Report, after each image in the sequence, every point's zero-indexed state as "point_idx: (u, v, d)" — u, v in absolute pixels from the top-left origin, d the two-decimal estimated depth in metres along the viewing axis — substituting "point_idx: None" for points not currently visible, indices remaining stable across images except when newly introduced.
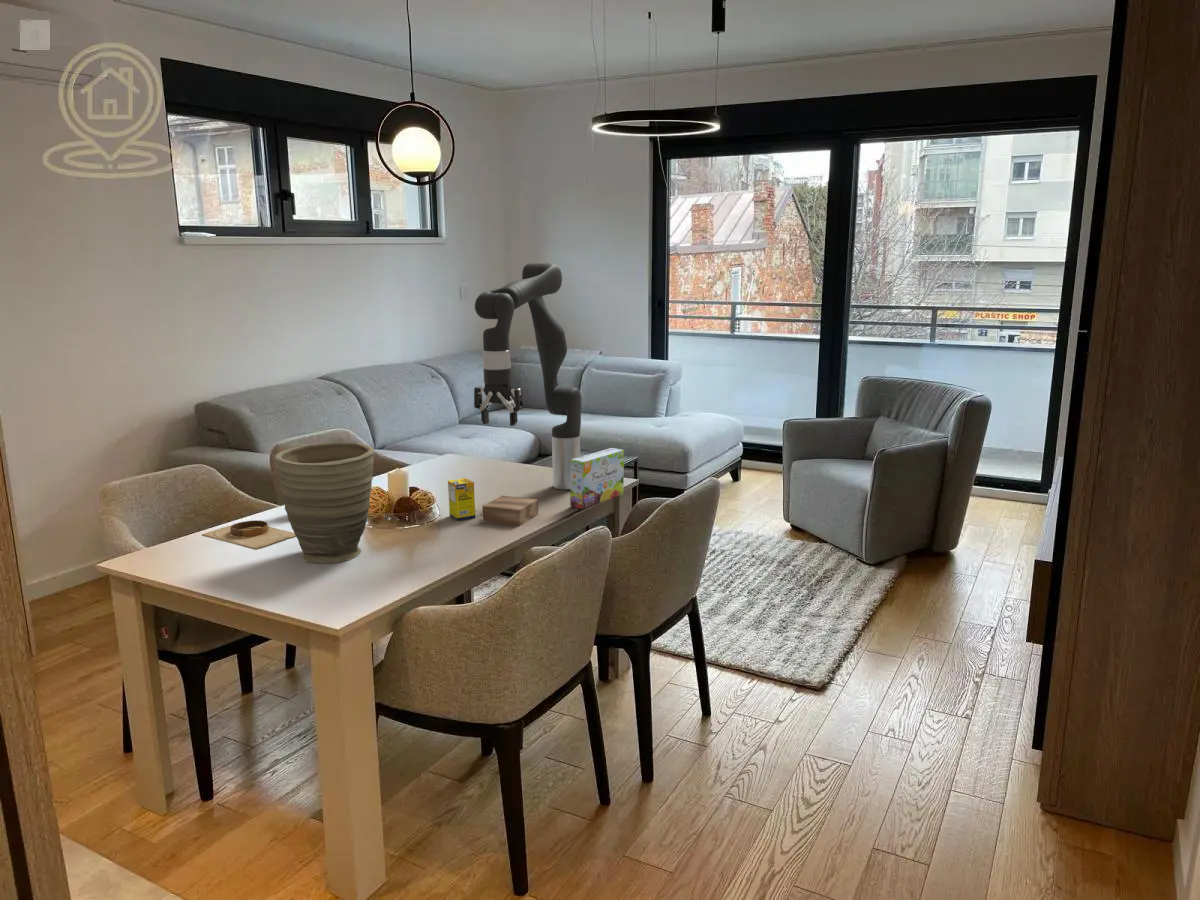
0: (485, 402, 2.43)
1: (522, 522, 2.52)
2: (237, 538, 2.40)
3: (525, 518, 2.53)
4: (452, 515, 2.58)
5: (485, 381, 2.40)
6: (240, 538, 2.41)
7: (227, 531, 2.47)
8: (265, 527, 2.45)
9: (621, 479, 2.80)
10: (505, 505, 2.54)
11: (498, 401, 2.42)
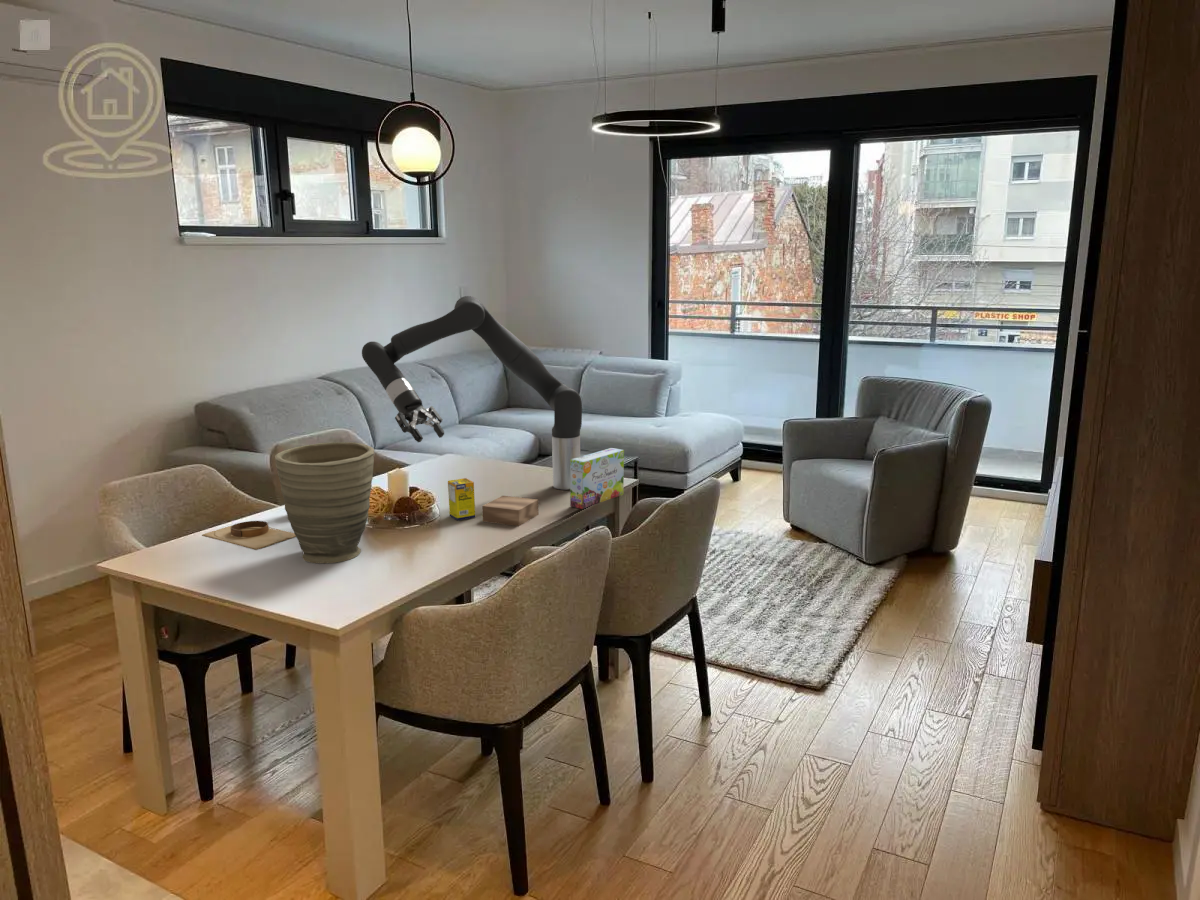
0: None
1: (521, 522, 2.51)
2: (237, 538, 2.40)
3: (525, 518, 2.53)
4: (452, 515, 2.58)
5: None
6: (240, 538, 2.40)
7: (228, 531, 2.47)
8: (265, 527, 2.45)
9: (621, 479, 2.80)
10: (505, 505, 2.54)
11: None
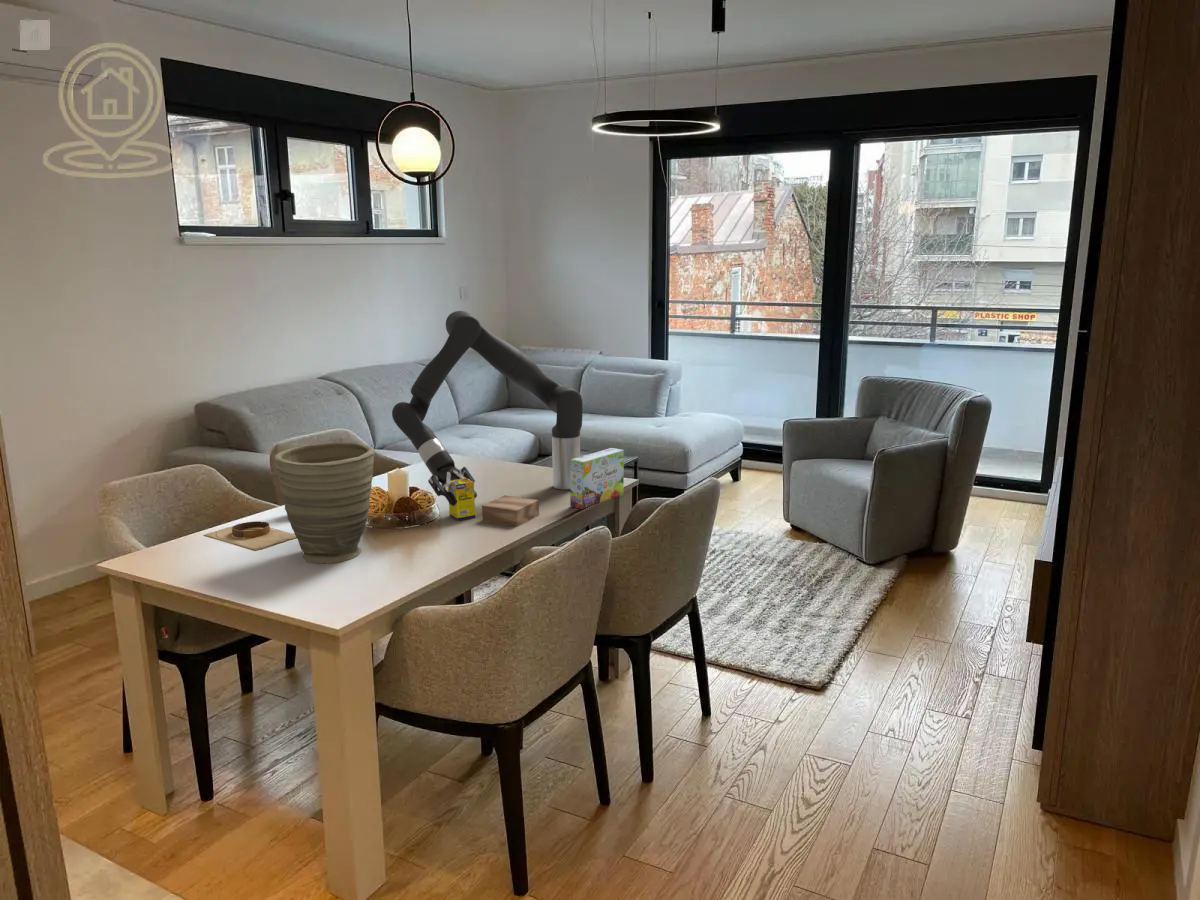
0: None
1: (520, 522, 2.51)
2: (238, 539, 2.40)
3: (524, 519, 2.53)
4: (452, 515, 2.58)
5: None
6: (240, 539, 2.40)
7: (229, 531, 2.46)
8: (266, 528, 2.44)
9: (621, 479, 2.80)
10: (504, 505, 2.55)
11: None
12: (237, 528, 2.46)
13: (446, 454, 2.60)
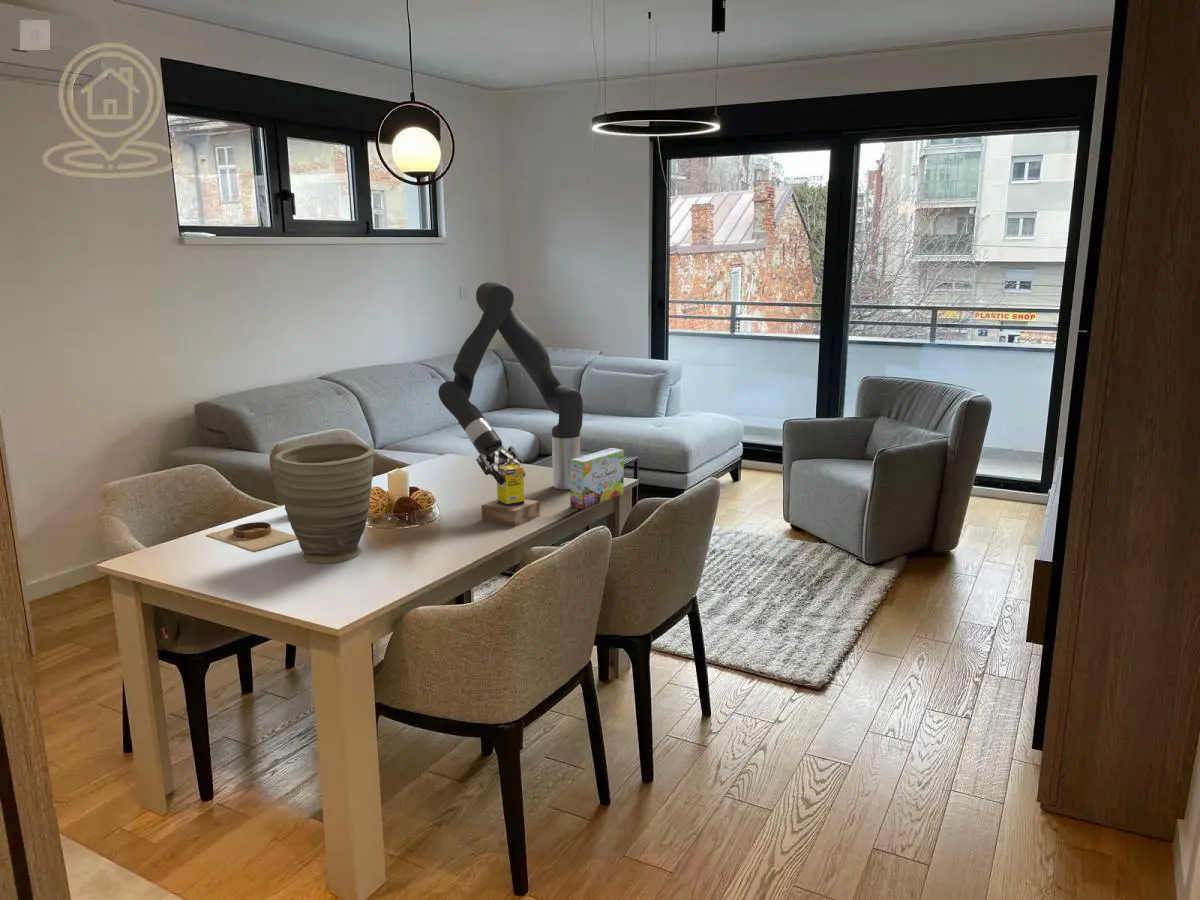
0: None
1: (518, 523, 2.51)
2: (239, 540, 2.39)
3: (523, 520, 2.53)
4: (500, 501, 2.56)
5: None
6: (241, 539, 2.39)
7: (231, 532, 2.46)
8: (267, 529, 2.43)
9: (621, 479, 2.80)
10: (504, 505, 2.55)
11: None
12: (239, 529, 2.46)
13: (494, 433, 2.57)
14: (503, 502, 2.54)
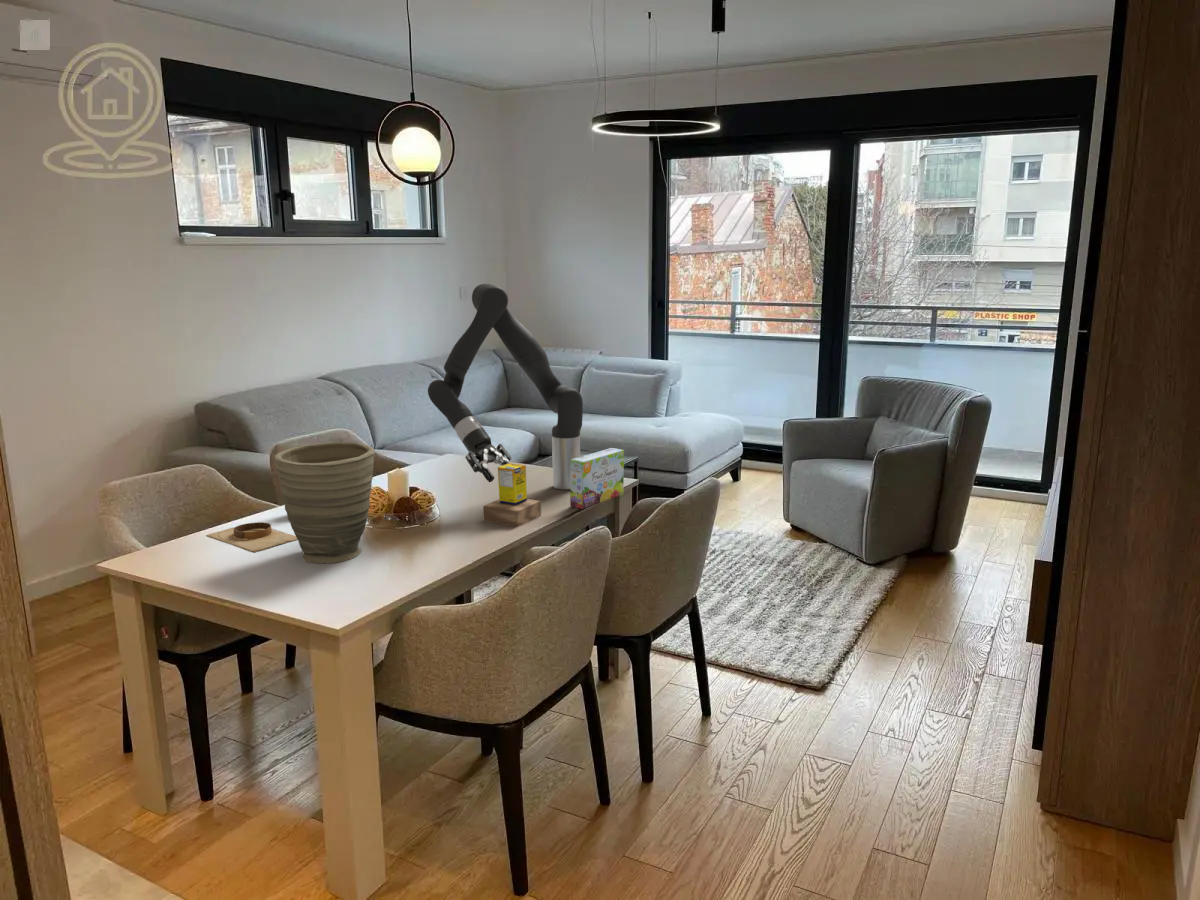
0: None
1: (521, 523, 2.51)
2: (239, 540, 2.39)
3: (525, 520, 2.53)
4: (505, 501, 2.56)
5: None
6: (241, 540, 2.39)
7: (232, 532, 2.46)
8: (268, 529, 2.43)
9: (621, 479, 2.80)
10: (506, 505, 2.54)
11: None
12: (239, 529, 2.46)
13: (483, 431, 2.59)
14: (510, 501, 2.55)
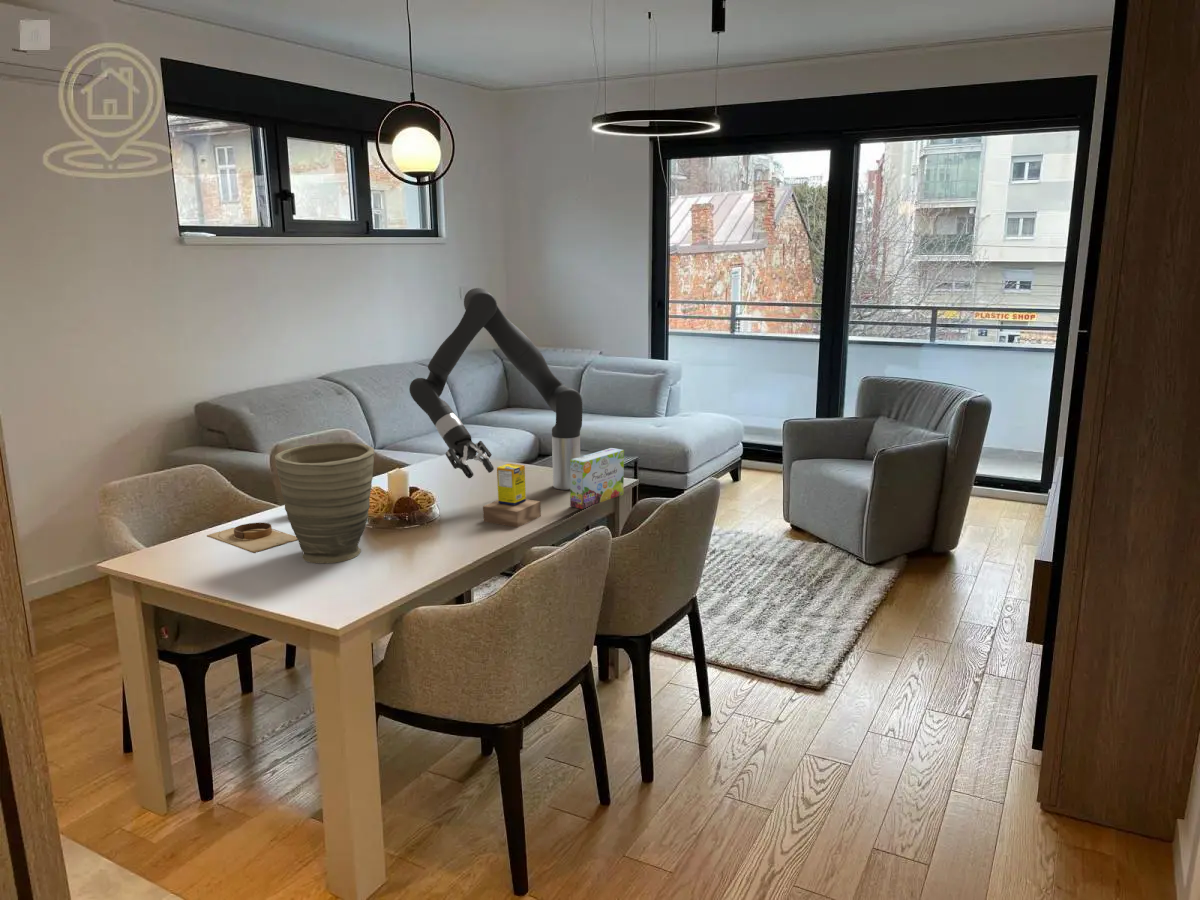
0: None
1: (521, 524, 2.50)
2: (239, 540, 2.39)
3: (525, 520, 2.52)
4: (504, 501, 2.55)
5: None
6: (241, 540, 2.39)
7: (232, 532, 2.46)
8: (268, 530, 2.42)
9: (621, 479, 2.80)
10: (505, 506, 2.54)
11: None
12: (240, 529, 2.46)
13: (463, 428, 2.64)
14: (509, 502, 2.54)
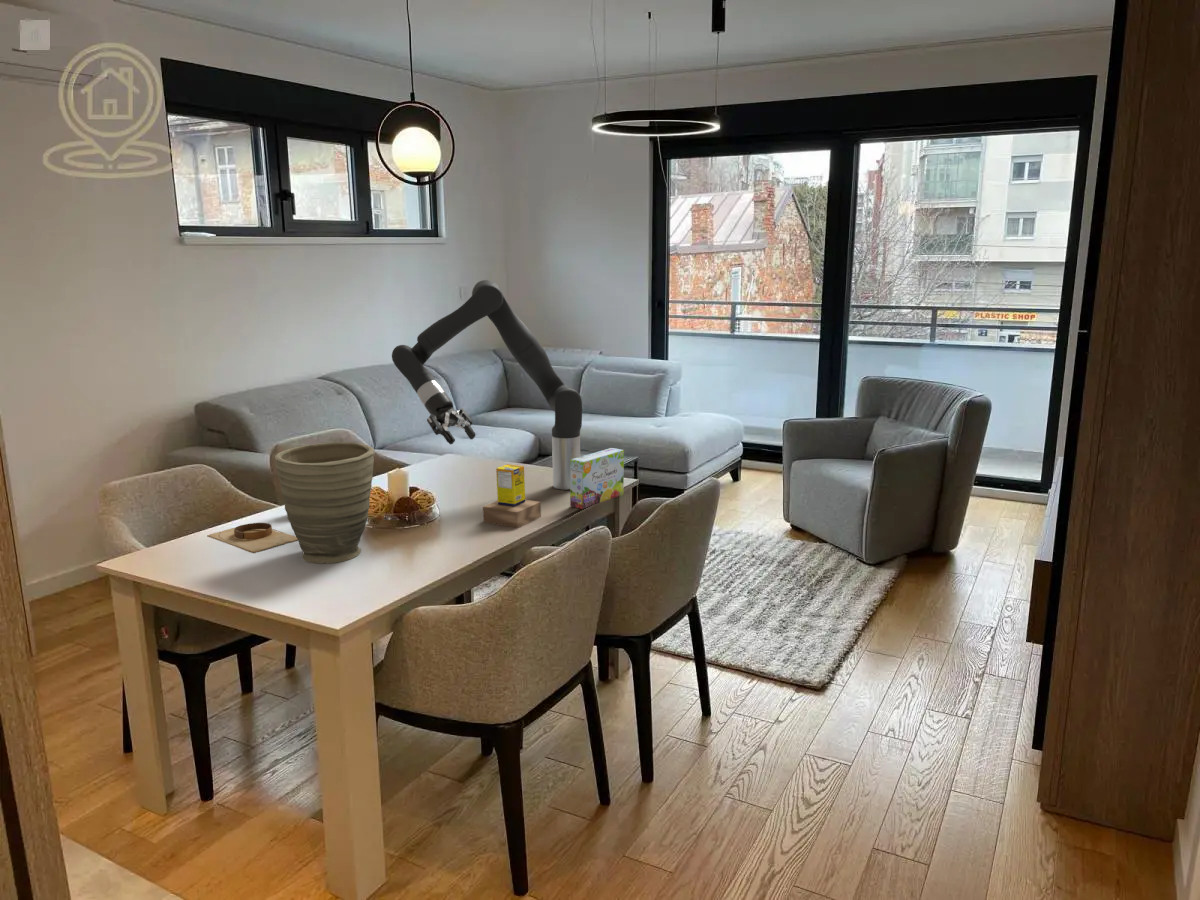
0: None
1: (521, 524, 2.50)
2: (239, 540, 2.39)
3: (525, 521, 2.51)
4: (504, 502, 2.54)
5: None
6: (241, 540, 2.39)
7: (233, 532, 2.45)
8: (268, 530, 2.42)
9: (621, 479, 2.80)
10: (505, 506, 2.53)
11: None
12: (240, 529, 2.45)
13: (445, 395, 2.65)
14: (508, 503, 2.53)
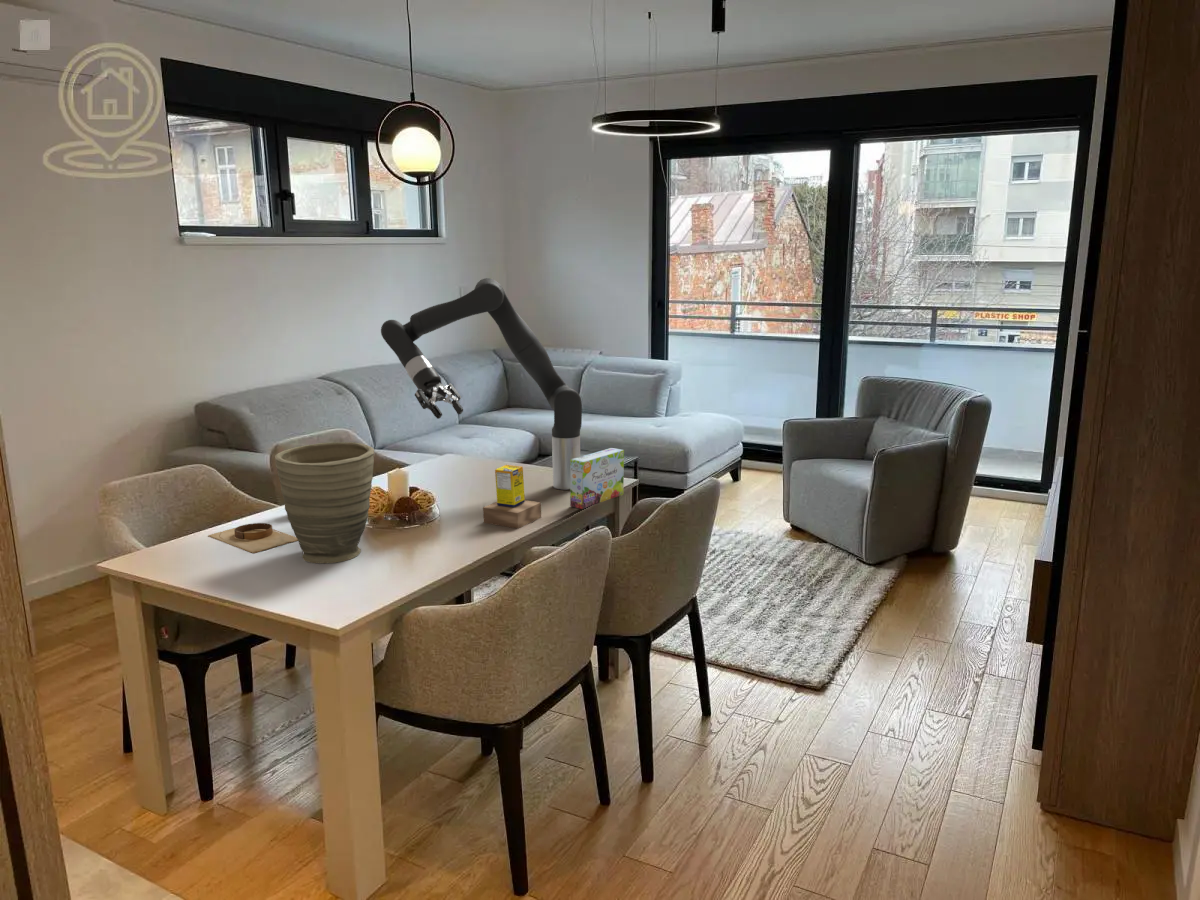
0: None
1: (521, 525, 2.49)
2: (239, 541, 2.38)
3: (525, 521, 2.51)
4: (503, 503, 2.53)
5: None
6: (242, 540, 2.38)
7: (233, 533, 2.45)
8: (268, 530, 2.42)
9: (621, 479, 2.80)
10: (505, 507, 2.53)
11: None
12: (241, 529, 2.45)
13: (433, 370, 2.66)
14: (508, 504, 2.52)
